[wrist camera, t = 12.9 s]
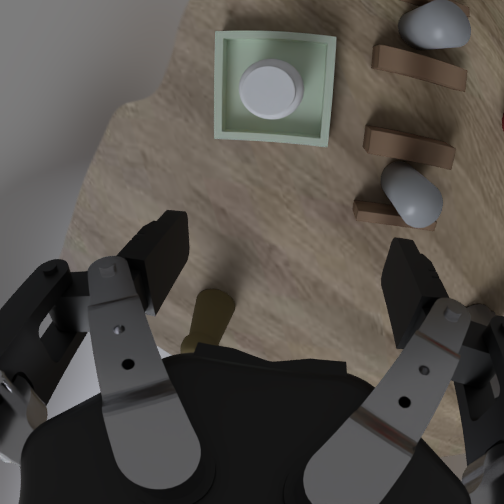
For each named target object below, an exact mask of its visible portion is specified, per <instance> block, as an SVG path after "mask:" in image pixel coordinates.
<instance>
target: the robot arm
mask: <svg viewBox="0 0 504 504" xmlns="http://www.w3.org/2000/svg"><path fill="white" fill-rule="evenodd" d="M188 256H189V232H188V217H187V213H186V212H185V211H174V210H166V211H165V212H164V214H163V215H162V216H161V217H160V218H159V219H158V220H157V221H152V222H150V223H149V224H147V225H145V226H143V227H142V228H141V229H140V231H139V232H138V233H137V235H135V236H134V237H133V238H132V240H130V241H129V242H128V243H127V245H126V246H125V247H124V248H123V249H122V250H121V251H120V252H119V253H118V255H117V256H108V257H103V258H101V259H98V260H96V261H95V262H93V263H92V264H91V265H90V267H89V268H88V271H84V272H70V269H69V266H68V263H67V262H66V261H64V260H61V259H55V260H51V261H48V262H46V263H43V264H42V265H40V266H39V267H38V268H37V269H36V270H35V271H34V272H33V273H32V274H31V275H30V276H29V278H28V279H27V280H26V281H25V282H24V283H23V284H22V285H21V286H20V287H19V288H18V290H17V291H16V292H15V293H14V294H13V295H12V296H11V298H10V299H9V300H8V301H7V302H6V303H5V305H4V306H3V307H2V308H1V310H0V459H1V460H2V461H4V462H7V463H15V464H16V465H18V466H19V467H20V468H21V490H20V500H19V504H504V317H503V316H496V314H495V312H494V311H490V309H489V308H488V307H487V306H486V305H483V304H477V305H472V306H469V307H467V308H466V307H465V306H464V305H463V304H461V303H460V302H458V301H456V300H454V299H451V298H449V296H448V294H447V292H446V290H445V288H444V286H443V284H442V282H441V280H440V279H439V276H438V274H437V272H436V270H435V268H434V266H433V264H432V262H431V261H430V260H429V259H428V258H427V257H426V256H425V255H423V254H420V252H419V250H418V249H417V247H416V245H415V243H414V241H413V240H410V239H403V238H396V237H395V238H394V239H393V240H392V242H391V246H390V249H389V252H388V256H387V259H386V262H385V265H384V268H383V272H382V277H381V286H382V290H383V294H384V298H385V302H386V305H387V309H388V314H389V318H390V322H391V326H392V330H393V335H394V339H395V344H396V349H403V351H402V352H401V354H400V355H399V357H398V358H397V359H396V361H395V362H394V364H393V365H392V366H391V368H390V369H389V370H388V372H387V373H386V374H385V376H384V377H383V378H382V380H381V381H380V382H379V384H378V385H377V386H376V387H373V386H372V385H371V384H369V383H368V382H366V381H364V380H362V379H361V378H359V377H356V376H354V375H351V374H348V373H347V368H346V362H342V361H330V360H319V359H301V360H290V361H277V362H271V361H267V360H264V359H261V358H258V357H255V356H253V355H250V354H247V353H245V352H242V351H239V350H237V349H234V348H229V347H223V346H217V345H211V344H206V343H200V342H198V343H197V346H196V349H195V351H194V352H193V353H182V354H176V355H172V356H169V357H166V358H163V359H161V356H160V354H159V351H158V349H157V346H156V343H155V341H154V338H153V335H152V333H151V330H150V327H149V324H148V321H147V318H146V316H145V314H147V315H152V316H156V314H157V312H158V311H159V309H160V307H161V305H162V304H163V302H164V300H165V298H166V297H167V295H168V293H169V291H170V290H171V288H172V286H173V284H174V283H175V281H176V279H177V277H178V276H179V274H180V272H181V271H182V269H183V267H184V265H185V264H186V262H187V260H188ZM48 313H49V314H50V316H51V318H52V320H53V321H52V323H51V324H50V326H49V327H48V328H47V330H46V331H45V333H44V334H43V336H42V337H41V338H39V332H38V331H39V326H40V324H41V322H42V321H43V319H44V318H45V317H46V315H47V314H48ZM87 332H90V335H91V341H92V348H93V354H94V360H95V366H96V370H97V376H98V381H99V386H100V391H101V393H99V394H97V395H95V396H93V397H91V398H89V399H88V400H86V401H84V402H82V403H80V404H78V405H76V406H74V407H72V408H71V409H68V410H67V411H65V412H63V413H61V414H59V415H57V416H55V417H53V418H51V419H49V420H47V408H46V405H47V404H48V402H49V400H50V398H51V396H52V394H53V392H54V390H55V388H56V386H57V385H58V383H59V381H60V379H61V377H62V376H63V374H64V372H65V370H66V368H67V367H68V365H69V363H70V361H71V359H72V358H73V356H74V354H75V353H76V351H77V349H78V348H79V346H80V344H81V342H82V341H83V339H84V337H85V336H86V334H87ZM450 380H452V381H454V385H455V390H456V395H457V400H458V405H459V410H460V416H461V422H462V428H463V435H464V442H465V450H466V459H467V468H466V469H465V471H464V473H463V476H462V482H461V481H460V480H459V478H458V477H457V476H456V475H455V474H454V473H453V472H452V471H451V470H450V469H449V467H448V466H447V465H446V464H445V463H444V462H443V461H442V460H441V459H440V458H439V456H438V455H437V454H436V453H435V452H434V451H433V450H432V449H431V448H430V447H429V445H428V444H427V443H426V442H425V441H424V440H423V439H422V438H421V436H422V434H423V433H424V431H425V429H426V428H427V426H428V424H429V422H430V420H431V419H432V417H433V415H434V413H435V411H436V409H437V407H438V405H439V403H440V401H441V399H442V397H443V395H444V393H445V391H446V389H447V387H448V385H449V383H450ZM46 420H47V421H46Z"/></svg>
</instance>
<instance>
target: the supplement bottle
mask: <svg viewBox="0 0 504 504" xmlns="http://www.w3.org/2000/svg"><path fill="white" fill-rule="evenodd" d="M239 95H240V98H241V101H242V103H243V104H244V106H245V107H246V108H247V109H248V110H249V111H250V112H251V113H253V114H254V115H256V116H258V117H261V118H264V119H280V118H284V117H286V116H288V115H290V114H291V113H293V112H294V111H295V110H296V109H297V108H298V106H299V105H300V103H301V101H302V99H303V95H304V84H303V80H302V77H301V75H300V74H299V72H298V71H297V70H296V69H295V68H294V67H293V66H292V65H290V64H289V63H287V62H285V61H282V60H278V59H264V60H260V61H257V62H255V63H253V64H252V65H250V66H249V67H248V68H247V69H246V70H245V71H244V73H243V75H242V76H241V79H240V82H239Z"/></svg>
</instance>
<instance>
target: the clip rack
mask: <svg viewBox="0 0 504 504" xmlns="http://www.w3.org/2000/svg"><path fill="white" fill-rule="evenodd" d="M400 1H404V2H408V3H411V4H414V5H418V6H423V5H425V4H427V3H430V2H432V1H434V0H400ZM448 1H451V2H453V3H454V4H456V5H457V6H458V7H459V8H461V10H462V11H463V12H464V13H465V15H466V16H467V17H469V7H467V6H465V5H462V4H460V3H457V2H455V1H452V0H448ZM371 68H373V69H378V70H383V71H388V72H392V73H396V74H401V75H405V76H409V77H413V78H416V79H420V80H424V81H427V82H431V83H434V84H437V85H441V86H444V87H447V88H450V89H453V90H458V91H463V92H465V89H466V80H467V70H465V69H462V68H460V67H457V66H454V65H451V64H448V63H445V62H442V61H439V60H436V59H433V58H430V57H427V56H423V55H420V54H416V53H413V52H409V51H405V50H401V49H397V48H393V47H389V46H385V45H377V46H374V47H373V53H372V67H371ZM363 148H364V149H365V150H366V151H367V153H368V154H374V155H380V156H386V157H391V158H397V159H402V160H407V161H412V162H417V163H422V164H427V165H431V166H436V167H440V168H445V169H449V170H451V169H452V165H453V160H454V156H455V151H456V148H454V147H452V146H451V145H449V144H447V143H446V142H443V141H439V140H435V139H431V138H427V137H423V136H418V135H414V134H409V133H405V132H400V131H395V130H390V129H385V128H379V127H374V126H368V125H366V126H365V134H364V141H363ZM353 212H354V215H355V218H356V221H363V222H371V223H379V224H386V225H394V226H401V227H408V228H415V227H412V226H409V225H408V224H407V223H406V222H405V221H404V220H403V219H402V217H401V216H400V214H399V213H398V211H397V210H396V208H395V207H394V205H387V204H380V203H373V202H366V201H358V200H354V203H353ZM436 224H437V222H436V221H435V222H434V223H432V224H431V225H429V226H427V227H424V228H416V229H422V230H429V231H434V230H435V227H436Z"/></svg>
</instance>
